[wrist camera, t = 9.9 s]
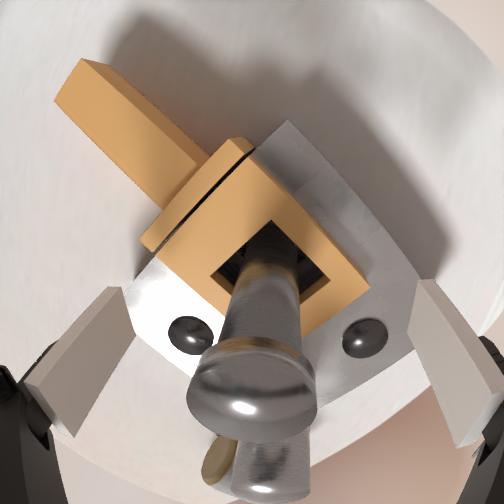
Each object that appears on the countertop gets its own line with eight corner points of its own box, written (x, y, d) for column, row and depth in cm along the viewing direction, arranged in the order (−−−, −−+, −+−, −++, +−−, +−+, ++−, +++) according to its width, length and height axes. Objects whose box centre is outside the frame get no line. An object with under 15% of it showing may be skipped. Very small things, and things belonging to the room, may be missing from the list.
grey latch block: (133, 282, 22) (45, 391, 11) (286, 121, 17) (293, 106, 6) (276, 395, 26) (267, 514, 15) (428, 292, 20) (502, 409, 9)
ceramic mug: (236, 416, 28) (224, 480, 21) (300, 440, 29) (298, 499, 22) (194, 448, 32) (180, 498, 25) (249, 469, 33) (242, 517, 26)
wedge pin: (271, 279, 21) (251, 452, 9) (231, 241, 20) (162, 399, 8) (313, 244, 20) (343, 412, 8) (273, 202, 19) (249, 342, 7)
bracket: (79, 124, 18) (33, 128, 13) (137, 45, 15) (98, 27, 11) (276, 311, 22) (273, 357, 17) (352, 250, 20) (370, 287, 15)
